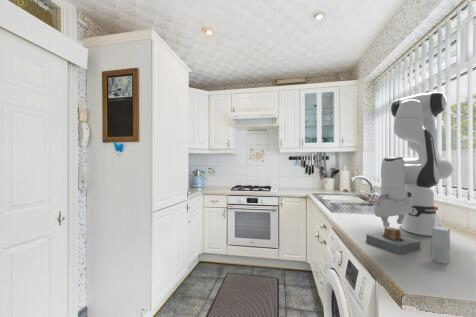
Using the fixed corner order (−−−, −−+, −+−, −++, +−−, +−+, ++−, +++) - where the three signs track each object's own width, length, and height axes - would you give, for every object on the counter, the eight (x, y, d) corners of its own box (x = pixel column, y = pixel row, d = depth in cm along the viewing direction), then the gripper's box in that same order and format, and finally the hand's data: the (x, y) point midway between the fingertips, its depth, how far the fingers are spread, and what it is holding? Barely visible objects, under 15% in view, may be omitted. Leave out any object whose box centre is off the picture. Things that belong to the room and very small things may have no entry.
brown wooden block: (402, 247, 93) (402, 230, 93) (396, 248, 91) (396, 231, 91) (388, 242, 98) (388, 226, 98) (382, 243, 97) (382, 227, 97)
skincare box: (434, 256, 84) (435, 225, 85) (450, 260, 81) (450, 227, 81) (431, 260, 81) (431, 227, 81) (447, 264, 77) (447, 230, 77)
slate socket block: (386, 237, 104) (386, 231, 104) (420, 248, 91) (420, 241, 91) (366, 241, 98) (366, 234, 98) (399, 254, 86) (399, 245, 86)
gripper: (384, 196, 88) (385, 230, 88) (414, 193, 96) (415, 224, 96) (370, 194, 94) (370, 226, 94) (399, 191, 102) (399, 220, 102)
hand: (393, 225), depth 95 cm, fingers open, 8 cm apart
